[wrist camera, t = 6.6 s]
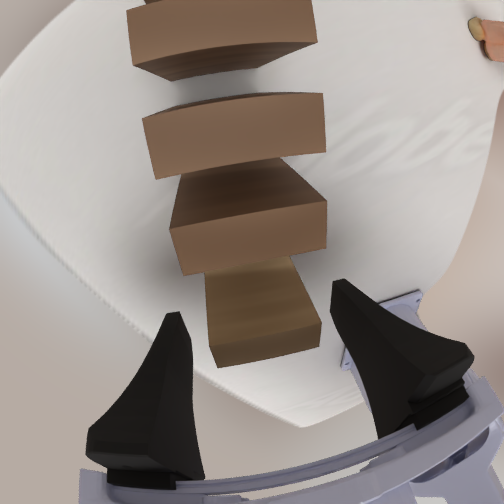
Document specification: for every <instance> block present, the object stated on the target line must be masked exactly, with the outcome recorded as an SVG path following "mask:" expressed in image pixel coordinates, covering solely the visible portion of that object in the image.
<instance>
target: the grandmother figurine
mask: <svg viewBox="0 0 504 504" xmlns="http://www.w3.org/2000/svg"><path fill="white" fill-rule="evenodd" d="M468 25H469V29H470V32H471V33H472V35H473V37H474V38H475V39H476V40H478V41H481V40H485V42H484V50H485V53H486V55H487V56H488V58H489V59H490V60H491V61H499V62H504V22H500V21H490V20H483V21H482V20H481V19H479V18H477V17H475V18H473V19H471V20H469V24H468Z"/></svg>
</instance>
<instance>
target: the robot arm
mask: <svg viewBox="0 0 504 504" xmlns="http://www.w3.org/2000/svg"><path fill="white" fill-rule="evenodd" d="M422 296H423V293H422V292H421V291H416V292H414V293H411V294H408V295H405V296H402V297H399V298H396V299H393V300H390V301H387V302H384V303H380V304H378V303H376V302H375V301H373V300H372V299H371V298H369V297H368V296H367V295H365V294H364V293H363V292H361V291H360V290H359V289H358V288H356V287H355V286H354V285H352V284H351V283H350V282H348V281H347V280H346V279H340V280H335V281H333V283H332V295H331V305H330V313H331V316H332V319H333V321H334V324H335V327H336V329H337V331H338V333H339V335H340V337H341V339H342V341H343V342H344V344H345V346H346V348H345V352H344V357H343V361H342V365H341V369H342V371H346V370H349V369H351V372H352V374H353V376H354V378H355V380H356V382H357V384H358V387H359V389H360V391H361V393H362V395H363V398H364V400H365V402H366V404H367V406H368V408H369V410H370V411H371V413H372V414H373V418H374V422H375V426H376V431H377V435H378V440H376V441H374V442H371V443H369V444H366V445H364V446H361V447H359V448H356V449H353V450H350V451H347V452H345V453H342V454H339V455H336V456H332V457H329V458H326V459H323V460H319V461H316V462H312V463H308V464H305V465H301V466H297V467H293V468H288V469H283V470H279V471H274V472H268V473H263V474H257V475H250V476H243V477H236V478H226V479H215V480H204V479H205V474H204V470H203V466H202V462H201V457H200V452H199V447H198V442H197V435H196V428H195V421H194V413H193V403H192V402H193V400H192V395H193V393H192V392H193V388H192V387H193V352H192V342H191V338H190V336H189V333H188V331H187V328H186V326H185V324H184V321H183V319H182V316H181V314H180V311H178V312H172V313H167V314H166V315H165V318H164V320H163V322H162V325H161V327H160V329H159V331H158V334H157V336H156V338H155V340H154V342H153V344H152V346H151V348H150V350H149V352H148V354H147V356H146V358H145V359H144V361H143V363H142V365H141V367H140V368H139V370H138V372H137V373H136V375H135V377H134V378H133V379H132V381H131V382H130V384H129V385H128V387H127V388H126V389H125V391H124V392H123V393H122V395H121V396H120V397H119V398H118V399H117V401H116V402H115V403H114V404H113V405H112V406H111V407H110V408H109V410H108V411H107V412H106V413H105V414H104V415H103V416H102V417H101V418H100V419H98V420H97V421H96V422H95V423H94V424H93V425H92V426H91V427H90V428H89V430H88V434H87V443H86V456H87V457H88V458H89V459H91V460H92V461H94V462H96V463H98V464H100V465H102V466H104V467H106V468H107V474H106V473H103V472H98V471H93V470H87V469H80V480H79V504H417V502H416V500H415V497H414V496H416V497H443V498H445V500H446V501H447V503H448V504H504V489H503V487H502V485H501V483H500V481H499V479H498V477H497V475H496V473H495V471H494V469H493V467H492V465H491V463H492V461H493V460H494V458H495V456H496V454H497V452H498V450H499V447H500V446H501V444H502V442H503V439H504V423H503V420H502V418H501V415H502V414H503V413H504V407H503V405H502V404H501V402H500V400H499V399H498V397H497V395H496V394H495V392H494V390H493V389H492V387H491V385H490V384H489V382H488V381H487V379H486V378H485V376H482V377H481V378H480V379H479V377H478V376H477V375H476V373H475V372H474V371H473V370H472V369H471V368H470V366H471V365H472V363H473V361H474V355H473V354H472V352H471V351H470V349H469V348H468V347H467V345H466V344H465V343H462V342H459V341H455V340H451V339H447V338H444V337H441V336H438V335H435V334H433V333H430V332H428V330H427V329H426V327H425V326H424V325H423V323H422V322H421V321H420V319H419V318H418V317H417V315H416V312H417V310H418V307H419V304H420V302H421V299H422ZM376 456H379V457H378V458H375V459H373V460H371V461H370V462H369V464H368V465H367V466H366V467H364V468H362V469H361V470H360V472H359V473H356V474H353V475H350V476H347V477H344V478H341V479H338V480H335V481H331V482H328V483H324V484H321V485H318V486H314V487H310V488H306V489H302V490H299V491H294V492H290V493H286V494H281V495H277V496H272V497H268V498H262V499H257V500H250V501H249V499H248V498H241V496H240V495H226V496H225V495H222V496H208V495H220V494H231V493H241V492H249V491H256V490H262V489H268V488H274V487H278V486H284V485H288V484H293V483H297V482H301V481H305V480H309V479H313V478H317V477H320V476H324V475H327V474H330V473H333V472H336V471H339V470H342V469H345V468H348V467H351V466H354V465H356V464H359V463H362V462H364V461H367V460H369V459H372V458H374V457H376Z"/></svg>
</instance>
